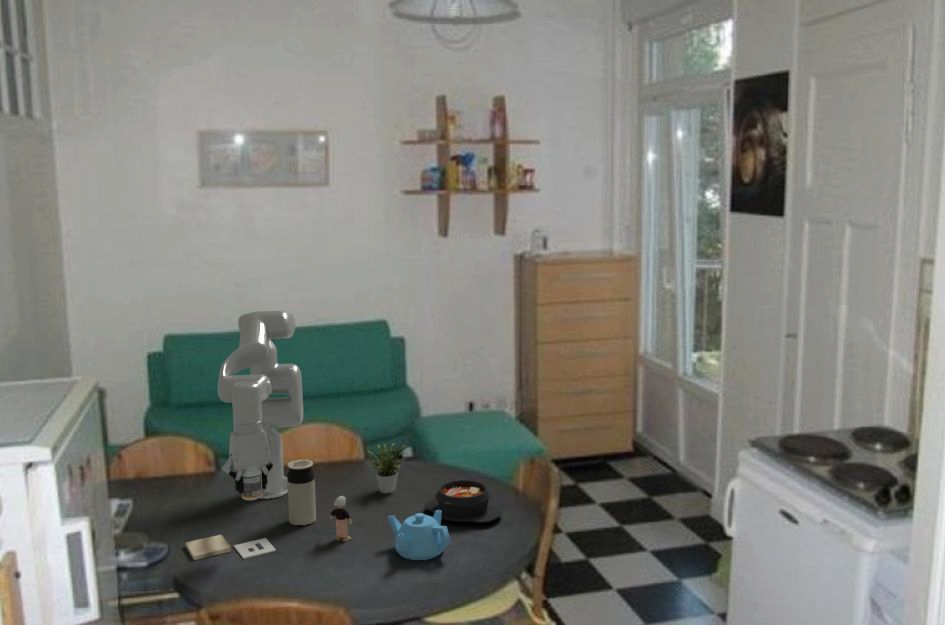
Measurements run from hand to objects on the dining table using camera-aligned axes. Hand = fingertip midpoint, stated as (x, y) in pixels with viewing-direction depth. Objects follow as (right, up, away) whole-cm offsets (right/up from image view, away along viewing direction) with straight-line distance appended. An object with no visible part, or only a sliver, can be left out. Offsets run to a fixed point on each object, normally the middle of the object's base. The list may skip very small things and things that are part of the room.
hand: (251, 489), depth 229 cm
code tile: (0, -17, +3) cm, 17 cm away
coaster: (-13, -17, +3) cm, 22 cm away
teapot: (+46, -17, 0) cm, 49 cm away
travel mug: (+10, -14, +21) cm, 27 cm away
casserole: (+58, -13, +25) cm, 64 cm away
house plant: (+34, -10, +44) cm, 57 cm away
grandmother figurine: (+23, -16, +9) cm, 30 cm away
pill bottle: (0, -2, 0) cm, 2 cm away
